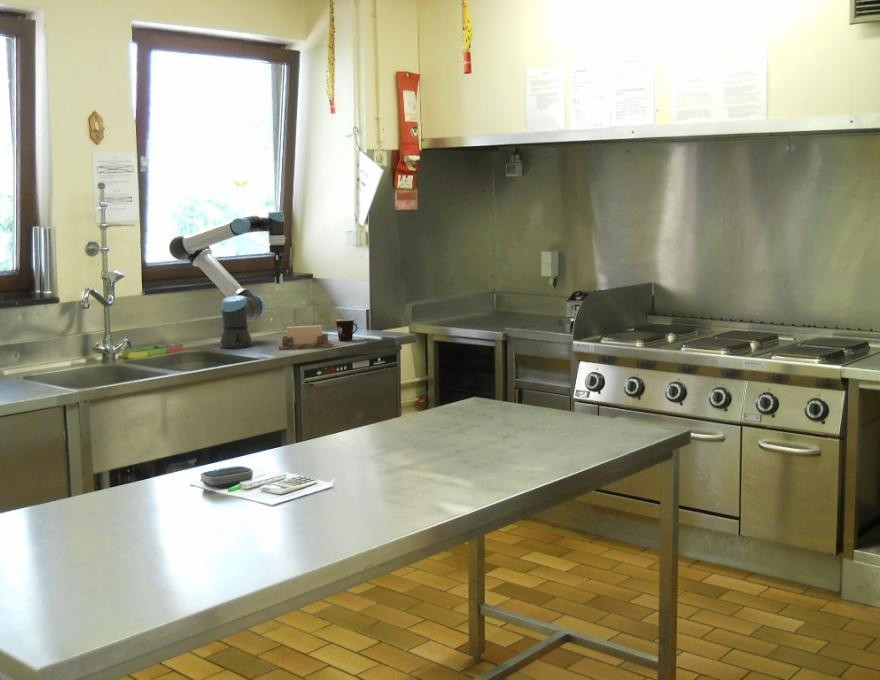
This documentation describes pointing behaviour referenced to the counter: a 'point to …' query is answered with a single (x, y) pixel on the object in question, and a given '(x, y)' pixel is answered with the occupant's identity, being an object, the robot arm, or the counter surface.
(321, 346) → the drying rack
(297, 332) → the clay bar
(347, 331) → the coffee mug
